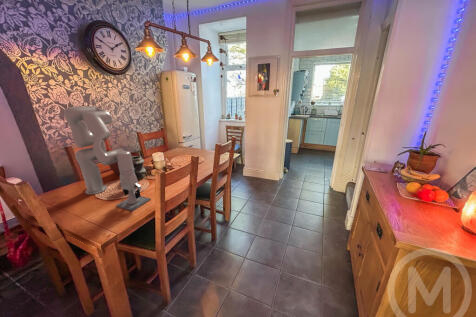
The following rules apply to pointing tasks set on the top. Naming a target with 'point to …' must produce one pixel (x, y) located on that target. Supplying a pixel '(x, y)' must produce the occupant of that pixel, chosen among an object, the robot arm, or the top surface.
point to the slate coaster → (133, 206)
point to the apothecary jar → (138, 166)
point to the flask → (132, 198)
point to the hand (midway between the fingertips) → (132, 196)
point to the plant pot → (115, 165)
